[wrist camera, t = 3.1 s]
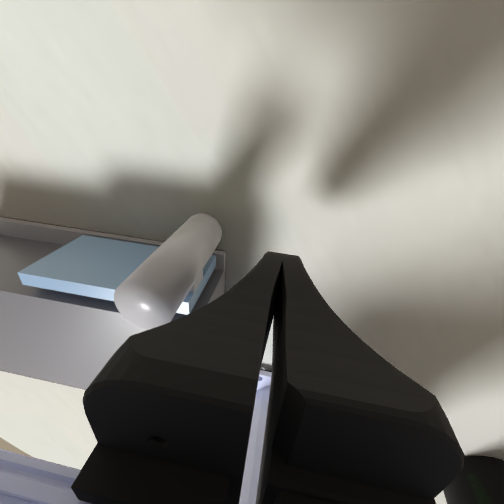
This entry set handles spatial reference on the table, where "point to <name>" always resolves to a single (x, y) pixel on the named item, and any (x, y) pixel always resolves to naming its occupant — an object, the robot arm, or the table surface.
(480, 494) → the cup
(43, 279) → the door
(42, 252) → the housing
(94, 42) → the table surface
